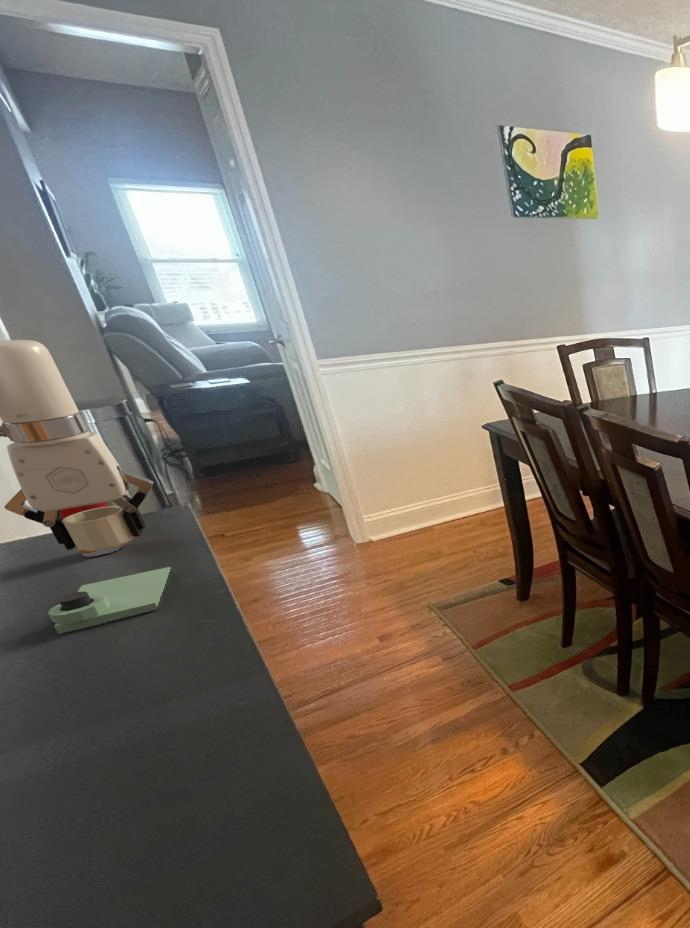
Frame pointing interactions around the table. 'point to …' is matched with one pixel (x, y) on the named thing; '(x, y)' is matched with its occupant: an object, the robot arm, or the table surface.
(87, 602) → the button
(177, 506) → the table surface
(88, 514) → the bowl
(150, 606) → the scale
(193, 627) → the table surface
